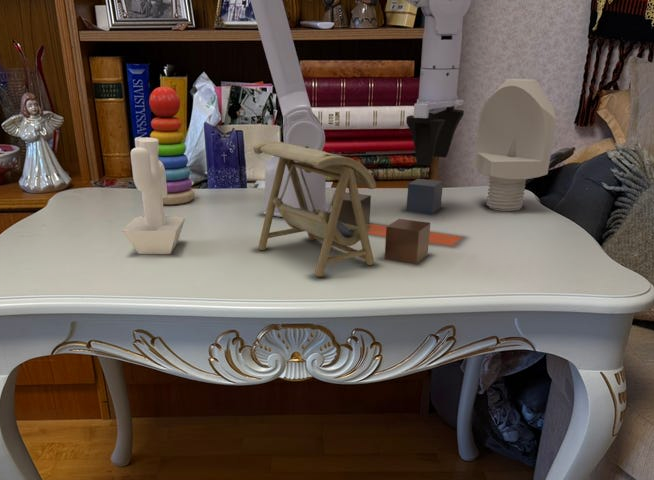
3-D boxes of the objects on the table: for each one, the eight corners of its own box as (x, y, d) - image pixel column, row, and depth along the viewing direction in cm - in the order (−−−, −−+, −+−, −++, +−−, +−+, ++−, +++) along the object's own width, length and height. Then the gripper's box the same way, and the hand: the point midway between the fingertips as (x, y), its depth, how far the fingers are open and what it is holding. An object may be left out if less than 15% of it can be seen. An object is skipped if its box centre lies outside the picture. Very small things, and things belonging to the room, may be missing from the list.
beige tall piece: (469, 200, 117) (483, 77, 108) (521, 199, 117) (539, 77, 108) (485, 214, 109) (501, 82, 100) (541, 213, 109) (562, 82, 100)
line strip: (320, 226, 103) (320, 226, 103) (334, 219, 107) (334, 218, 107) (452, 246, 94) (452, 245, 94) (462, 237, 98) (462, 236, 98)
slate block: (406, 210, 111) (408, 183, 109) (415, 204, 115) (417, 178, 112) (432, 214, 109) (434, 186, 107) (440, 208, 113) (443, 181, 111)
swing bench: (376, 265, 87) (382, 148, 80) (316, 280, 82) (317, 157, 75) (312, 238, 98) (312, 133, 91) (256, 249, 93) (251, 139, 86)
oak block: (331, 227, 102) (331, 198, 100) (343, 220, 106) (344, 192, 104) (357, 231, 100) (358, 201, 98) (369, 224, 104) (371, 195, 102)
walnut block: (384, 259, 89) (386, 226, 87) (396, 250, 92) (398, 218, 90) (416, 264, 87) (418, 231, 85) (427, 255, 90) (430, 222, 88)
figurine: (189, 239, 97) (180, 132, 90) (177, 260, 89) (166, 143, 82) (140, 239, 97) (127, 132, 91) (123, 259, 89) (107, 143, 82)
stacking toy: (190, 206, 114) (181, 89, 106) (144, 206, 114) (131, 89, 106) (198, 195, 121) (189, 84, 113) (154, 195, 122) (142, 84, 113)
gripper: (450, 72, 93) (441, 171, 99) (479, 66, 104) (469, 155, 110) (403, 70, 96) (397, 166, 102) (436, 64, 107) (429, 151, 113)
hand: (432, 160), depth 106 cm, fingers open, 7 cm apart
